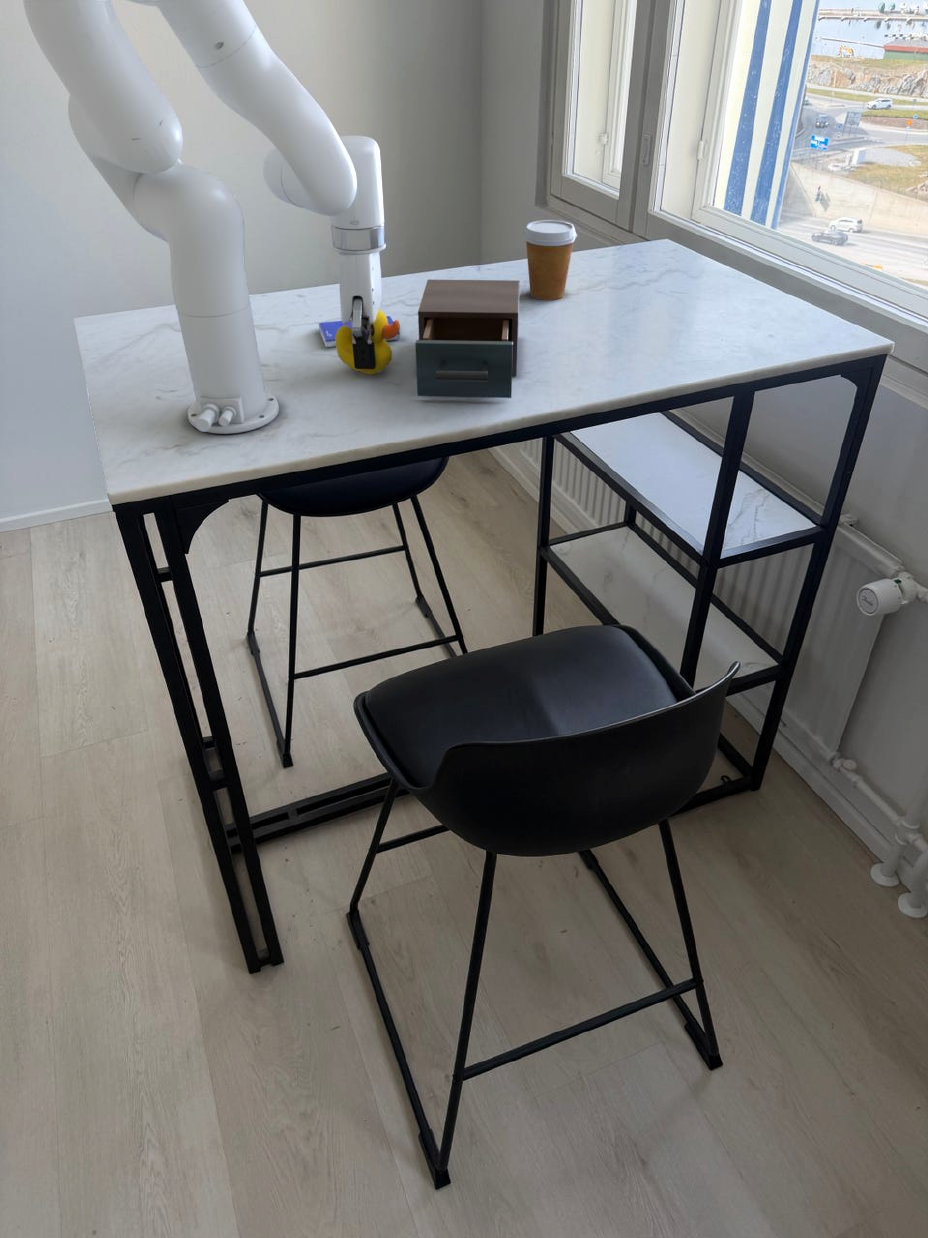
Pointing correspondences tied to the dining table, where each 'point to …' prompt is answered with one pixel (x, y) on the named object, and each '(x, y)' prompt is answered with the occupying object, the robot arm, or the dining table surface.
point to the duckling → (378, 334)
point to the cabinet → (472, 304)
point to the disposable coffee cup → (549, 257)
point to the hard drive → (331, 328)
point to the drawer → (465, 358)
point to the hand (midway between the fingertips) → (368, 358)
